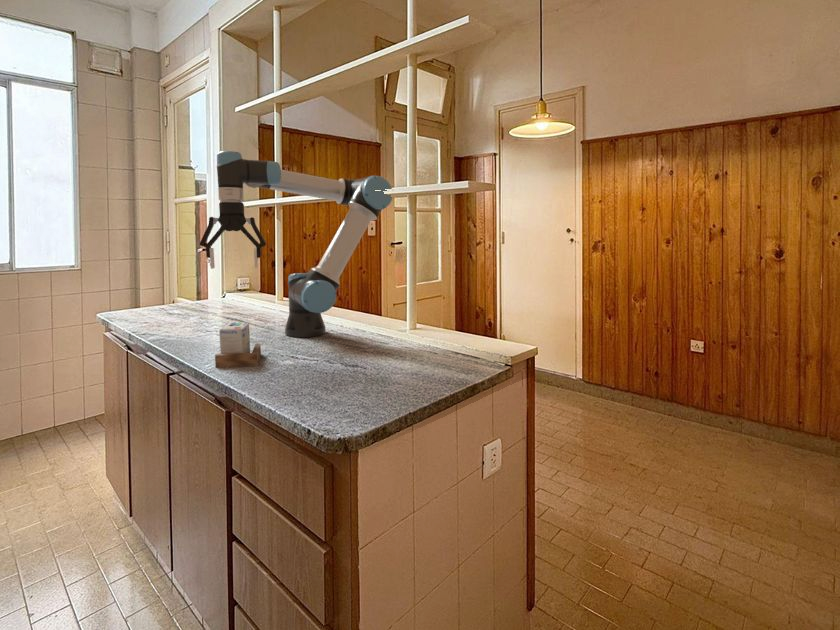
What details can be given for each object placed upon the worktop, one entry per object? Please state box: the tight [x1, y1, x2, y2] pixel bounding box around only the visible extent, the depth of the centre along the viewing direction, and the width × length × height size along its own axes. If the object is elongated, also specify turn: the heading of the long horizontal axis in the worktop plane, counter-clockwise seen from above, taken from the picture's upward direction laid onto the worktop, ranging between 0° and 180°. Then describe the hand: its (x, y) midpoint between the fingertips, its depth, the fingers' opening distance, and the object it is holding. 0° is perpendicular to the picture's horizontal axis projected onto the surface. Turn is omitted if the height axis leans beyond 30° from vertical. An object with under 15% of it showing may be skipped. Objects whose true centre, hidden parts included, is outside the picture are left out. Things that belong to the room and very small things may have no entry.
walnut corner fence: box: [214, 343, 262, 368], centre depth 157 cm, size 12×14×4 cm
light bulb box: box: [218, 322, 251, 354], centre depth 157 cm, size 11×7×11 cm, turn 7°
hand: (234, 268), depth 169 cm, fingers open, 13 cm apart
